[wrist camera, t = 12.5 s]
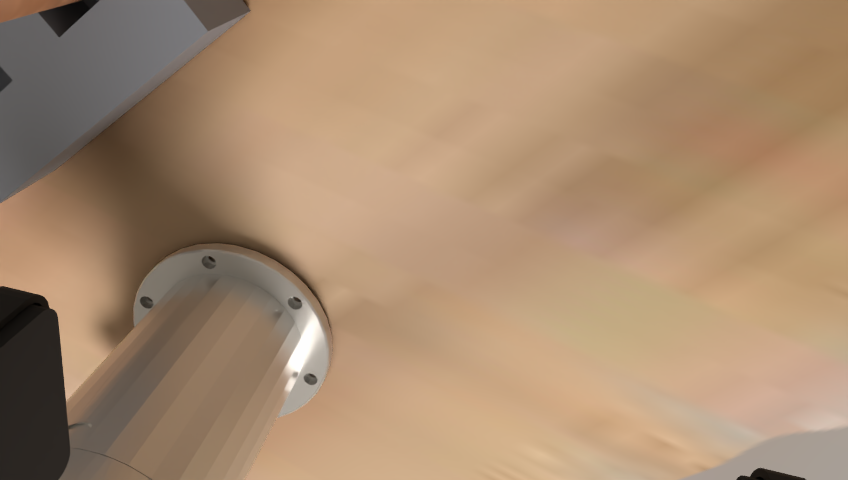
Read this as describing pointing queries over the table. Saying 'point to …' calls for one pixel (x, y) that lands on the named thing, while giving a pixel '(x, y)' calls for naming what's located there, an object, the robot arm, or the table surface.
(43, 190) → the table surface
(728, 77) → the table surface
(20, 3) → the dowel
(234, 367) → the robot arm
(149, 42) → the bore block
